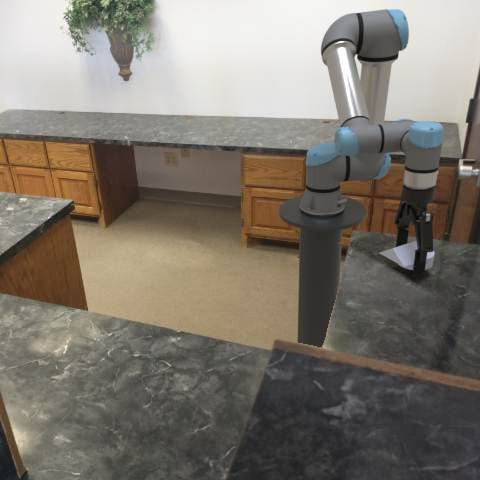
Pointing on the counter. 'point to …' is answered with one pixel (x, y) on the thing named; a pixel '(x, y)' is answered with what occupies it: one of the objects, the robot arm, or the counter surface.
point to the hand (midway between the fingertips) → (409, 261)
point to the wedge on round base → (407, 255)
